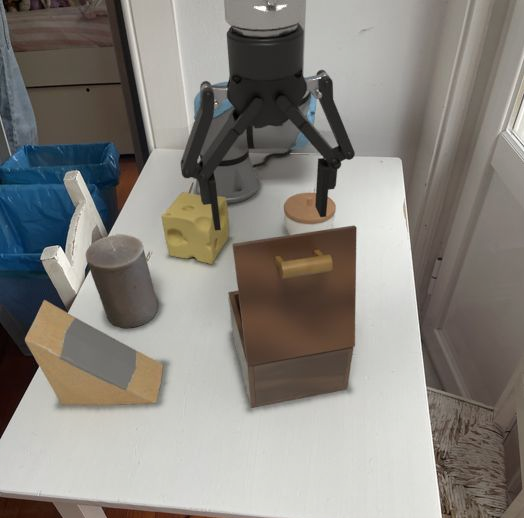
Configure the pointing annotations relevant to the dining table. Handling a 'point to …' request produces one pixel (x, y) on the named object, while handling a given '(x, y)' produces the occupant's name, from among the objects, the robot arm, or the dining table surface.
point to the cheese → (195, 228)
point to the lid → (297, 293)
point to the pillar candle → (122, 280)
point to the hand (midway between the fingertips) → (269, 218)
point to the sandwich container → (90, 362)
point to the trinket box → (307, 214)
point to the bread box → (289, 370)
